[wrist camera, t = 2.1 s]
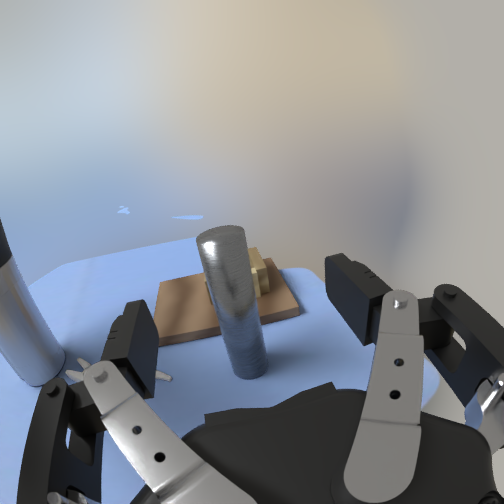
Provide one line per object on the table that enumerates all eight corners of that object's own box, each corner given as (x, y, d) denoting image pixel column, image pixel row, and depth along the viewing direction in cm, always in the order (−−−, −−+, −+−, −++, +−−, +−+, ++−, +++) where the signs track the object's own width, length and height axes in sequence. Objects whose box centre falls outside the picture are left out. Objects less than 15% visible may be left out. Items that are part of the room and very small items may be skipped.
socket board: (154, 347, 34) (139, 315, 31) (162, 289, 47) (153, 262, 45) (299, 315, 36) (297, 280, 34) (271, 264, 49) (267, 236, 47)
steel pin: (235, 382, 27) (196, 250, 20) (230, 357, 31) (195, 231, 24) (271, 374, 28) (248, 238, 21) (263, 349, 31) (240, 222, 24)
